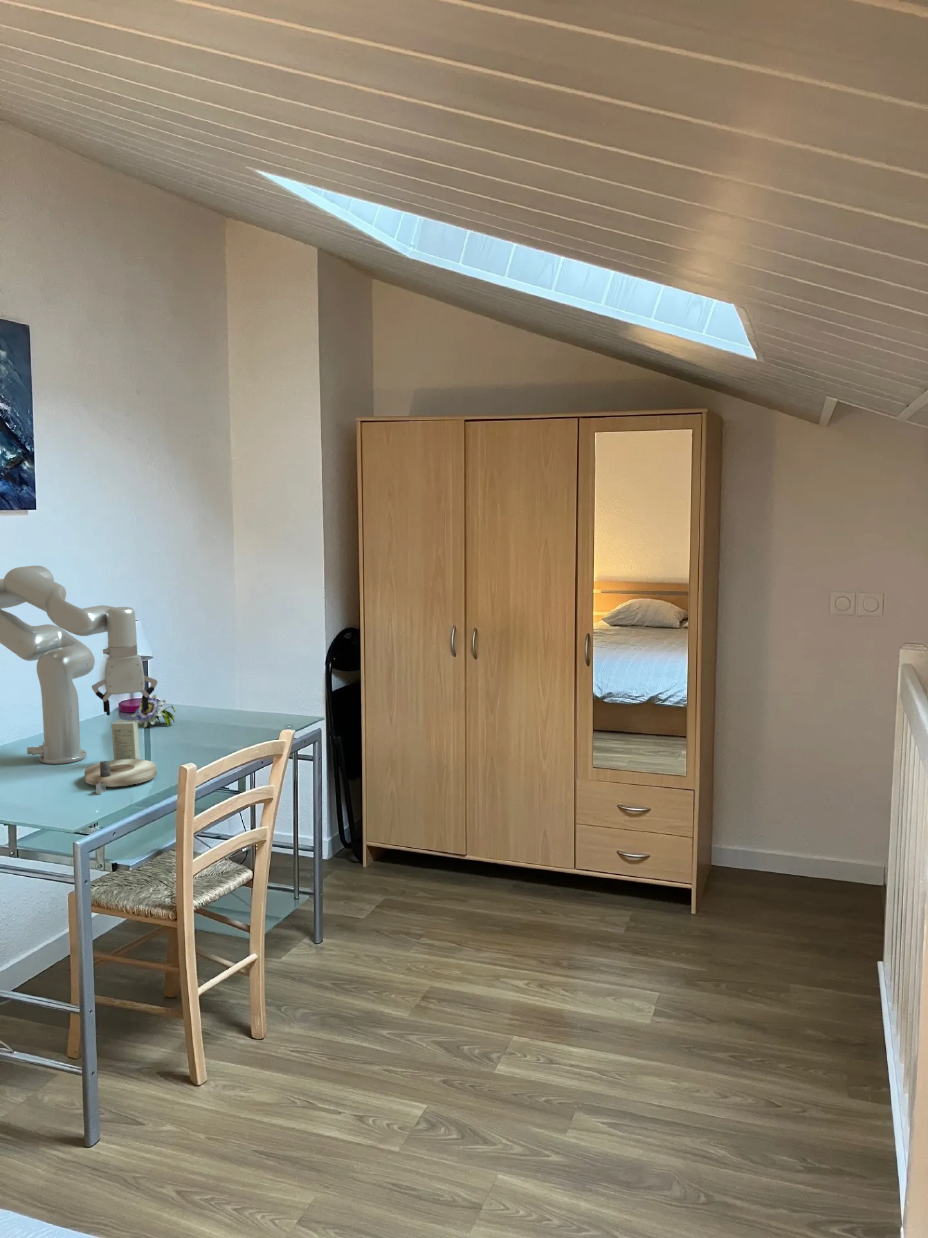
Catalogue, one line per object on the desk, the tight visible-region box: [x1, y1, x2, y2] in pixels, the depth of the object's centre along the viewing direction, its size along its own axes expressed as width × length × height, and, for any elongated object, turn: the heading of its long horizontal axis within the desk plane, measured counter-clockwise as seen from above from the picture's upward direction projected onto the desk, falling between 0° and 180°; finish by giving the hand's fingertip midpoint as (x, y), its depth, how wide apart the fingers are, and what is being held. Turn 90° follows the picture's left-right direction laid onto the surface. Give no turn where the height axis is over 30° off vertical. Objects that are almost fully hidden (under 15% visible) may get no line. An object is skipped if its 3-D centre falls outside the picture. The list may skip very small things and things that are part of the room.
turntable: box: [84, 758, 158, 788], centre depth 260 cm, size 18×18×6 cm
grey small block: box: [95, 781, 107, 795], centre depth 249 cm, size 4×1×2 cm, turn 175°
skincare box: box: [111, 719, 141, 760], centre depth 275 cm, size 6×4×12 cm
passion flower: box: [130, 693, 177, 729], centre depth 321 cm, size 11×11×12 cm
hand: (126, 712), depth 273 cm, fingers open, 9 cm apart
